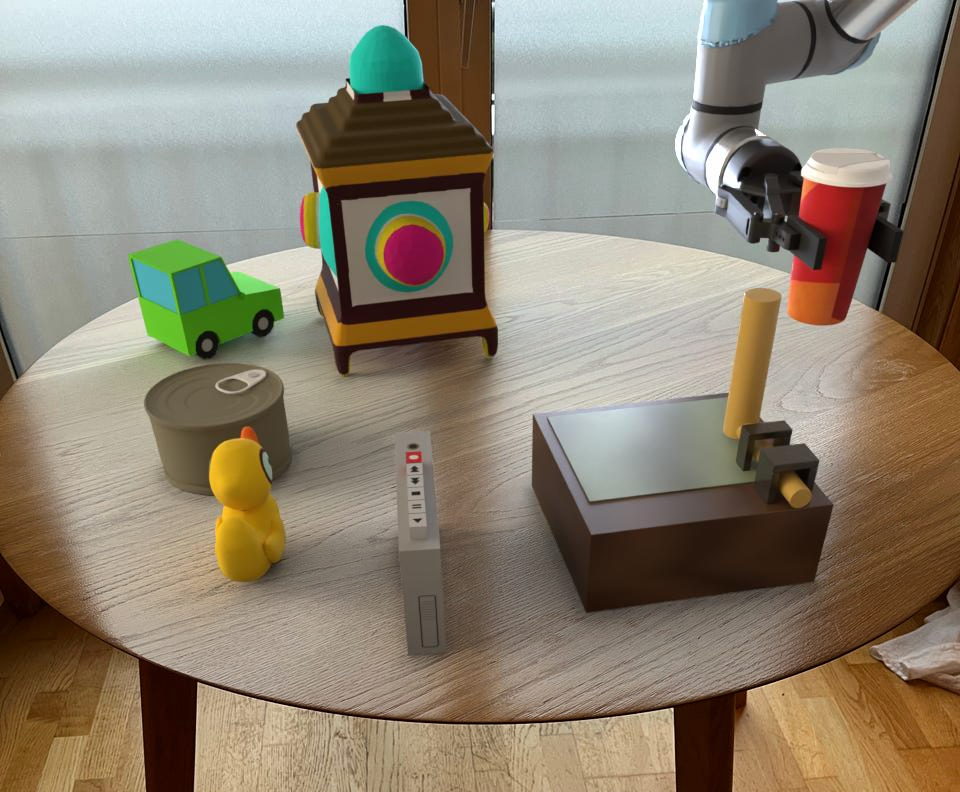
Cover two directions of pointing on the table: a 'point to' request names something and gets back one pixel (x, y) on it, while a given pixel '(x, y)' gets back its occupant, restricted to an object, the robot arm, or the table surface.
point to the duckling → (245, 509)
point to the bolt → (757, 380)
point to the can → (216, 418)
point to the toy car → (200, 298)
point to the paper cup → (836, 230)
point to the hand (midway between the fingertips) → (858, 250)
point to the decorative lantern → (396, 207)
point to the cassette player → (419, 544)
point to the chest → (674, 502)
